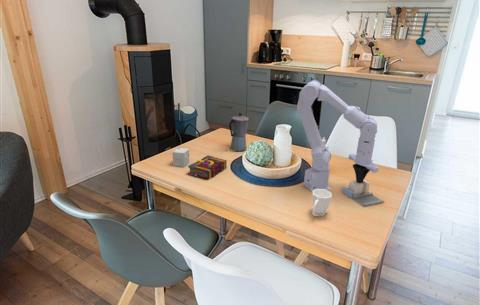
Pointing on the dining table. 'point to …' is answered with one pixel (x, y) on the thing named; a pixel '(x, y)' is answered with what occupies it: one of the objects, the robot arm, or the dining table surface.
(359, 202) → the grey ribbed plate
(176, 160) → the skincare box
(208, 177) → the decorative book
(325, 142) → the eye dropper bottle
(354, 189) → the block
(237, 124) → the moka pot
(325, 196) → the cup
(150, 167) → the dining table surface
